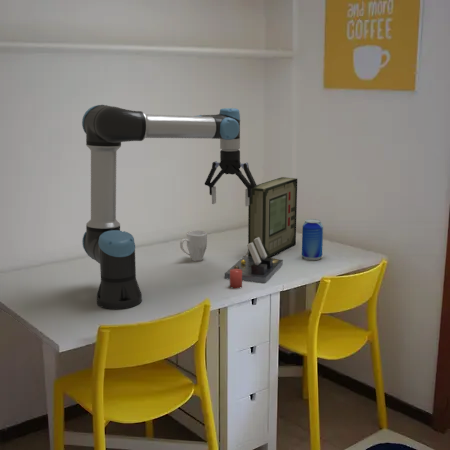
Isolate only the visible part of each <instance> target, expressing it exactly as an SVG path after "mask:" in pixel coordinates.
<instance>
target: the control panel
mask: <svg viewBox="0 0 450 450" xmlns="http://www.w3.org/2000/svg"><path fill="white" fill-rule="evenodd" d="M256 185H257V186H256V187H255V188H252V196H251V197H249V205H248V206H247V207H248V209H247V210H248V217H247V218H248V220H247V221H248V227H247V228H248V229H247V232H248V234H247V235H248V236H247V237H248V238H247V239H248V241H247V245H248V244H249V243H252V242H253V244H254V246H255V248H256V251H257V253H258V255H259V257H261V256H260V253H259V251H258V249H257V247H256V244H255V242H254V239H255V238H258V237H259V238H260V240H261V243H262V245H263V247H264V249H265V252H266V254H267V257H266V258H273V257H276V256H277V255H279V254H281V253H283V252H285V251H287V250H289V249H290V248H292V247H294V246H296V243H297V242H296V241H297V208H298V207H297V206H298V205H297V204H298V203H297V202H298V178H297V177H296V178H295V177H285V176H281V177H278V178H276V179H275V178H274V179H272V180H269V181H268V180H267V181H266V182H262V183H258V184H256ZM247 256H250V257H252V255H251V253H250V251H249V248H248V247H247Z"/></svg>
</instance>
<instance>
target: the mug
mask: <svg viewBox="0 0 450 450" xmlns="http://www.w3.org/2000/svg"><path fill="white" fill-rule="evenodd" d="M184 241H186V247H187V251H188V252H187V251H186V250H185V249H184V247H183V243H184ZM207 245H208V233H207V231H204V230H191V231H188V232H187V233H186V238H182V239H181V240H180V243H179V246H180V249H181V250H182V252H183V253H185V254H186V255H187V256H190V259H191V261H194V262H201V261H202V260H203V258H204V256H205V253H206V250H207V247H208V246H207Z"/></svg>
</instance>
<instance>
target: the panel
mask: <svg viewBox="0 0 450 450" xmlns="http://www.w3.org/2000/svg"><path fill="white" fill-rule="evenodd" d="M259 258H260V260H261V263H260V264H259V265H258V266H257V265H255V262H254V260H253V258H252V257H250V256H248V255H244V256H243V257H242V258H241V259H239V260H238V261H237V262H236V263H234V265H232V266H231V267H230V268H229V269H228V270H227V271H225V272H224V279H226V278H228V279H227V280H230V270H231V269H241V270H242V281H243V280H244V282H252V281H253V283H259V284H260V283H261V284H266V283H268V282H269V280H270V279H271V278H272V277H273V275H275V273H276V272H278V270H279V269H280V268H281V267H282V266H283V265H284V264H283V262H284V261H283V259H280V258H279V259H278V258H273V257H272V258H265V259H264V260H263V259H262V258H261V257H259Z"/></svg>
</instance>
